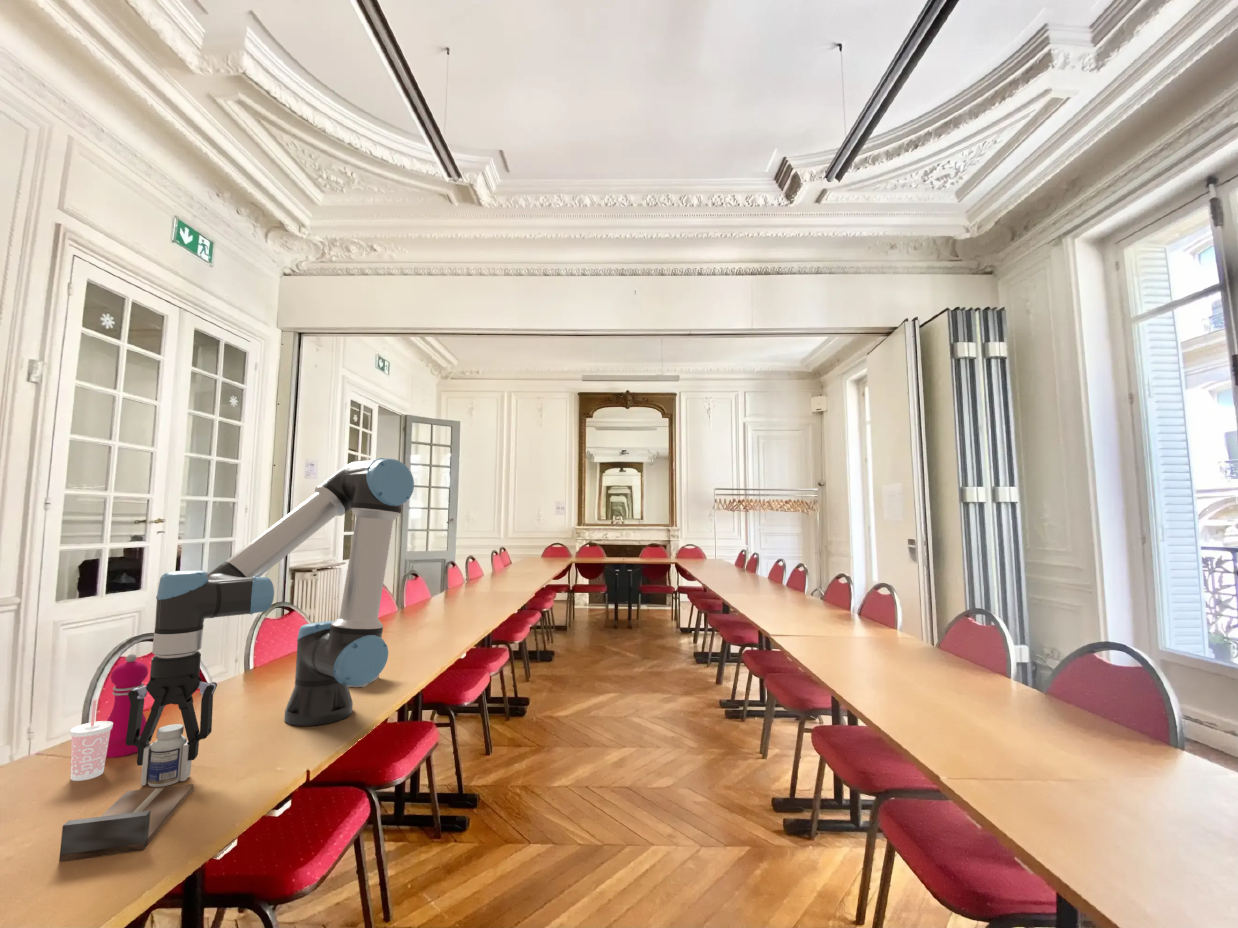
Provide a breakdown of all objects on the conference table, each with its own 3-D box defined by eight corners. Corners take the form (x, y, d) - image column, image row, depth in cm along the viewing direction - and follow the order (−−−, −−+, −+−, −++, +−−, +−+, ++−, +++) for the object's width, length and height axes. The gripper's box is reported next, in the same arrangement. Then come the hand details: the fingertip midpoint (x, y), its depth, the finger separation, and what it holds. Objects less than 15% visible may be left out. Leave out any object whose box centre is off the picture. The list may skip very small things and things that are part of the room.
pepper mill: (118, 760, 116) (127, 659, 118) (89, 757, 117) (99, 656, 119) (153, 746, 123) (162, 651, 125) (126, 743, 124) (135, 649, 126)
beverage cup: (58, 785, 106) (66, 706, 107) (74, 771, 111) (81, 696, 112) (100, 779, 108) (108, 702, 109) (114, 766, 114) (121, 693, 115)
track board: (193, 789, 105) (195, 760, 105) (142, 850, 86) (146, 815, 86) (126, 796, 102) (129, 767, 102) (59, 862, 83) (62, 825, 83)
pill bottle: (163, 774, 110) (168, 722, 111) (190, 775, 110) (195, 723, 111) (139, 787, 105) (144, 732, 106) (168, 788, 105) (172, 733, 106)
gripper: (238, 646, 116) (229, 765, 114) (128, 651, 110) (116, 777, 108) (226, 655, 109) (216, 782, 107) (107, 660, 103) (94, 796, 101)
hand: (166, 779), depth 108 cm, fingers closed on pill bottle, 5 cm apart
